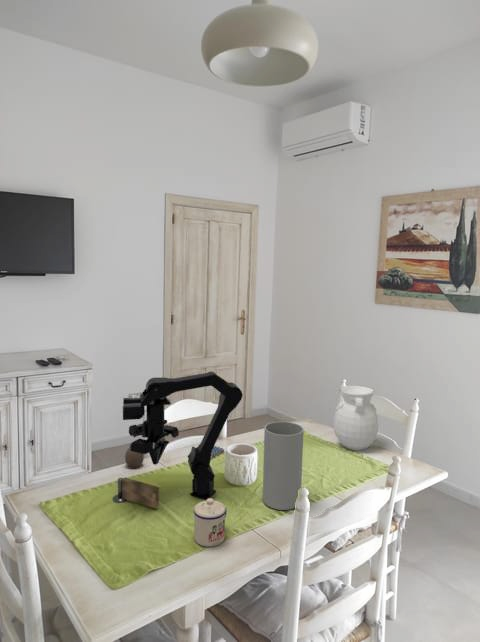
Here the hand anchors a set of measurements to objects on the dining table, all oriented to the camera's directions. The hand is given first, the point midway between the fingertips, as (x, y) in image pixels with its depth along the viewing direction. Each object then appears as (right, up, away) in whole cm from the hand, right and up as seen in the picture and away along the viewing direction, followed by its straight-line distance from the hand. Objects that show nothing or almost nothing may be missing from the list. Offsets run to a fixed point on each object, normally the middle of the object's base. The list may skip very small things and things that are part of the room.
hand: (155, 464), depth 157 cm
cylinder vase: (+41, -13, +2) cm, 43 cm away
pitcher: (+76, -7, +50) cm, 92 cm away
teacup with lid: (+20, -15, -19) cm, 31 cm away
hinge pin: (-12, -12, +1) cm, 17 cm away
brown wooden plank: (-5, -12, -3) cm, 13 cm away
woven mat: (+14, -8, +39) cm, 43 cm away
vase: (-13, -9, +26) cm, 30 cm away
